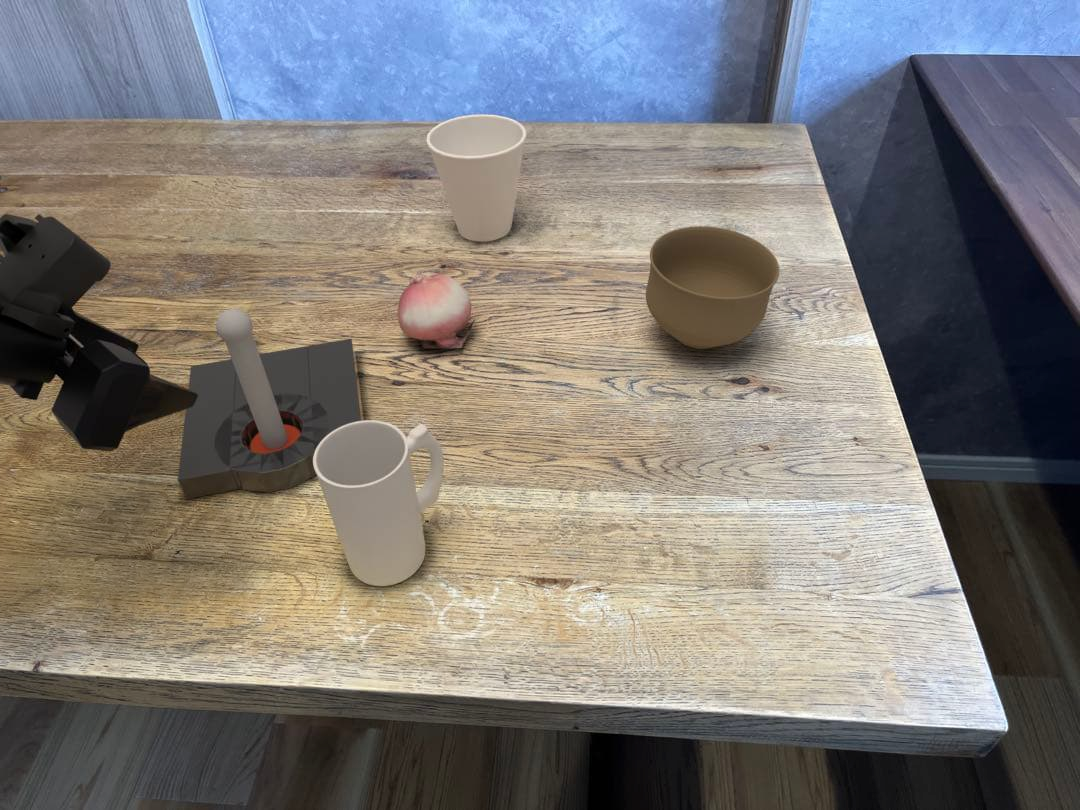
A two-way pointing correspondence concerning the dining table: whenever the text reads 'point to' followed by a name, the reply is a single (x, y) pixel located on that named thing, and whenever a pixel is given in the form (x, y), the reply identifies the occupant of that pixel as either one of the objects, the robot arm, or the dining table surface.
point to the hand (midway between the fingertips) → (164, 373)
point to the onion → (435, 311)
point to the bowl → (709, 285)
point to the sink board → (229, 427)
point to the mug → (378, 496)
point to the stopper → (254, 383)
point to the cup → (479, 171)
